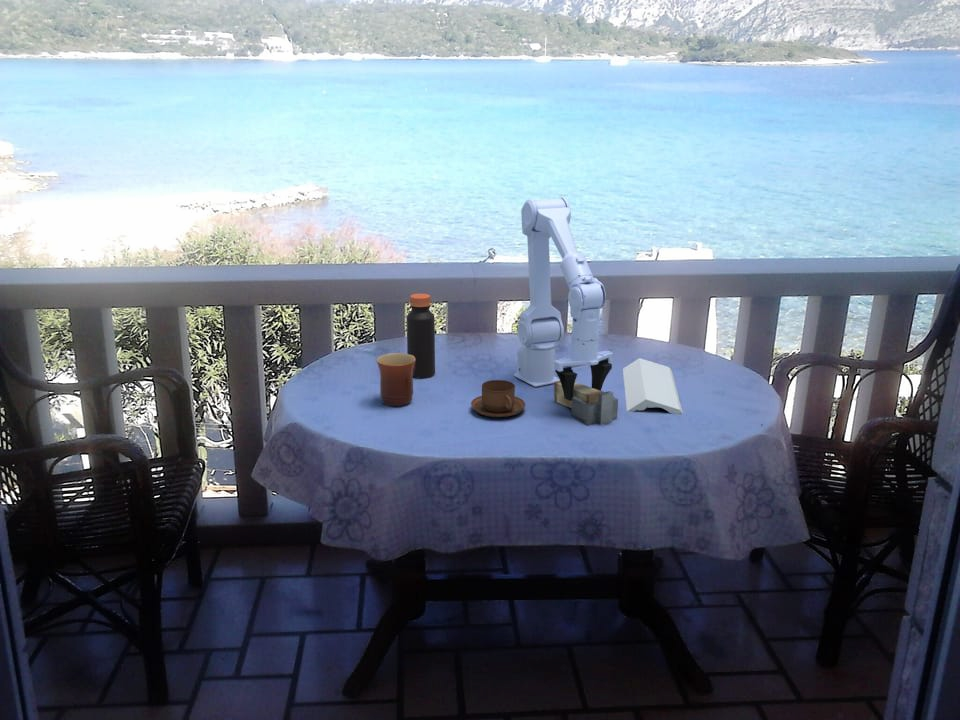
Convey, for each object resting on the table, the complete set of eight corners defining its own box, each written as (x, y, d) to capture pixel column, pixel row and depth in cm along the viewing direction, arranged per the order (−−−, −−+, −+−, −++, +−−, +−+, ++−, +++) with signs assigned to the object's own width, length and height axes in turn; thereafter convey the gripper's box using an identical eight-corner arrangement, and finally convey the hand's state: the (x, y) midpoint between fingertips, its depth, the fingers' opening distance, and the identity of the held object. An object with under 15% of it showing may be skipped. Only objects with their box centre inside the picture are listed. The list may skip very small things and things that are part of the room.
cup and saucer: (536, 411, 197) (536, 385, 195) (498, 426, 189) (499, 399, 187) (497, 397, 205) (497, 372, 203) (459, 411, 197) (459, 385, 195)
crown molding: (682, 416, 196) (684, 400, 195) (627, 413, 197) (627, 398, 196) (670, 372, 223) (671, 359, 222) (621, 370, 225) (622, 357, 224)
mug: (403, 411, 196) (402, 367, 193) (370, 404, 200) (368, 361, 196) (430, 394, 206) (429, 352, 203) (397, 388, 210) (396, 347, 207)
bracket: (571, 416, 194) (572, 386, 192) (600, 409, 198) (601, 380, 196) (591, 427, 188) (592, 397, 186) (620, 420, 192) (622, 390, 190)
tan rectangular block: (554, 401, 203) (553, 381, 201) (568, 398, 205) (568, 378, 203) (589, 415, 192) (588, 394, 191) (604, 411, 194) (604, 391, 193)
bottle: (436, 369, 222) (435, 292, 216) (434, 379, 216) (433, 299, 210) (409, 369, 223) (407, 292, 216) (406, 378, 216) (404, 299, 210)
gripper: (568, 347, 185) (566, 407, 190) (623, 337, 192) (619, 395, 197) (549, 338, 191) (547, 397, 195) (602, 329, 198) (599, 386, 202)
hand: (582, 396), depth 196 cm, fingers open, 7 cm apart
